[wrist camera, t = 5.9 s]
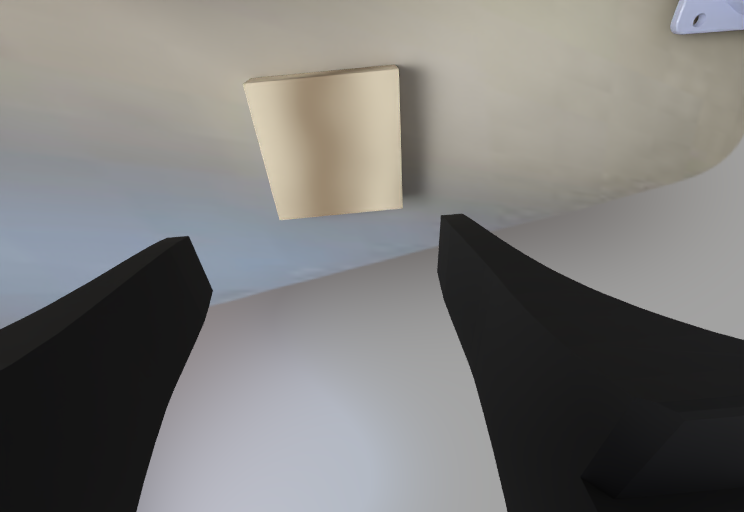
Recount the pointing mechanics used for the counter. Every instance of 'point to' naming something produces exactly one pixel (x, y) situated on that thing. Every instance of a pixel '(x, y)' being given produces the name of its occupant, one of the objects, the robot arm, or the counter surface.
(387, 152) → the birch block
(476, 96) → the counter surface
